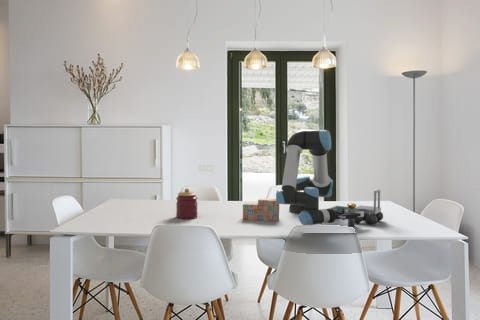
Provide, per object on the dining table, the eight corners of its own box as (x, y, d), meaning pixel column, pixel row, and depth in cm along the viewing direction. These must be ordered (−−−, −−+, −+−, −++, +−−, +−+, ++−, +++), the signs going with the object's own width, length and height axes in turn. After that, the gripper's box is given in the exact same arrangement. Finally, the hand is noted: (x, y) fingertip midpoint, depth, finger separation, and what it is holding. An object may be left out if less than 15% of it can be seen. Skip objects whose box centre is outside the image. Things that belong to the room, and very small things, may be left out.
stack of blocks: (242, 219, 218) (242, 199, 218) (244, 217, 224) (244, 197, 224) (278, 221, 214) (278, 200, 214) (279, 219, 220) (279, 199, 220)
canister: (172, 218, 221) (172, 189, 220) (182, 214, 233) (182, 186, 232) (191, 219, 216) (191, 190, 215) (201, 215, 228) (201, 187, 227)
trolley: (351, 222, 212) (351, 190, 211) (359, 218, 224) (360, 187, 223) (376, 225, 204) (376, 192, 203) (383, 221, 216) (384, 189, 215)
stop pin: (345, 226, 203) (346, 204, 202) (348, 224, 207) (349, 203, 206) (354, 227, 200) (354, 205, 200) (356, 225, 204) (357, 204, 203)
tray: (327, 214, 237) (327, 208, 237) (336, 210, 250) (336, 205, 250) (351, 217, 227) (351, 211, 227) (359, 213, 240) (359, 208, 240)
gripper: (314, 219, 204) (345, 216, 214) (338, 226, 186) (371, 222, 197) (314, 206, 204) (346, 203, 214) (338, 212, 186) (372, 208, 196)
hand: (358, 212), depth 205 cm, fingers open, 7 cm apart
